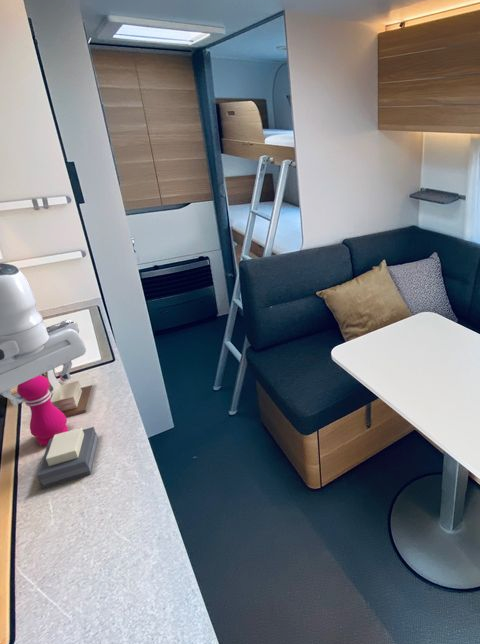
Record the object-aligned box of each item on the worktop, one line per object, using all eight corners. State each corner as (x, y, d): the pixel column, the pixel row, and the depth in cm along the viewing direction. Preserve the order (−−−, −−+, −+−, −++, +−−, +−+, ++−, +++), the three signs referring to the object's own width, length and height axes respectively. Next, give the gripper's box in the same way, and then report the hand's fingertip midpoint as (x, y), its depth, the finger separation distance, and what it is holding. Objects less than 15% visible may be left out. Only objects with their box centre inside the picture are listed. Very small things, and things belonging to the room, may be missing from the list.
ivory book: (48, 466, 90) (45, 459, 89) (57, 441, 97) (54, 434, 96) (78, 457, 92) (75, 450, 92) (84, 434, 99) (81, 427, 98)
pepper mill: (49, 452, 100) (21, 385, 92) (29, 444, 102) (0, 378, 95) (78, 431, 106) (53, 367, 99) (59, 425, 109) (33, 361, 101)
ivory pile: (42, 425, 108) (36, 410, 107) (53, 398, 119) (47, 384, 117) (86, 414, 112) (81, 399, 110) (93, 389, 122) (88, 375, 120)
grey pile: (42, 491, 90) (36, 476, 88) (55, 452, 100) (49, 438, 98) (92, 476, 93) (86, 461, 91) (99, 440, 103) (94, 426, 102)
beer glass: (45, 400, 118) (27, 356, 112) (28, 395, 120) (10, 352, 114) (68, 386, 124) (53, 343, 118) (52, 381, 126) (36, 339, 120)
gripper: (67, 313, 96) (84, 363, 101) (-48, 357, 80) (-20, 413, 85) (81, 320, 93) (98, 370, 98) (-35, 366, 77) (-8, 423, 82)
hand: (42, 390), depth 92 cm, fingers open, 8 cm apart
